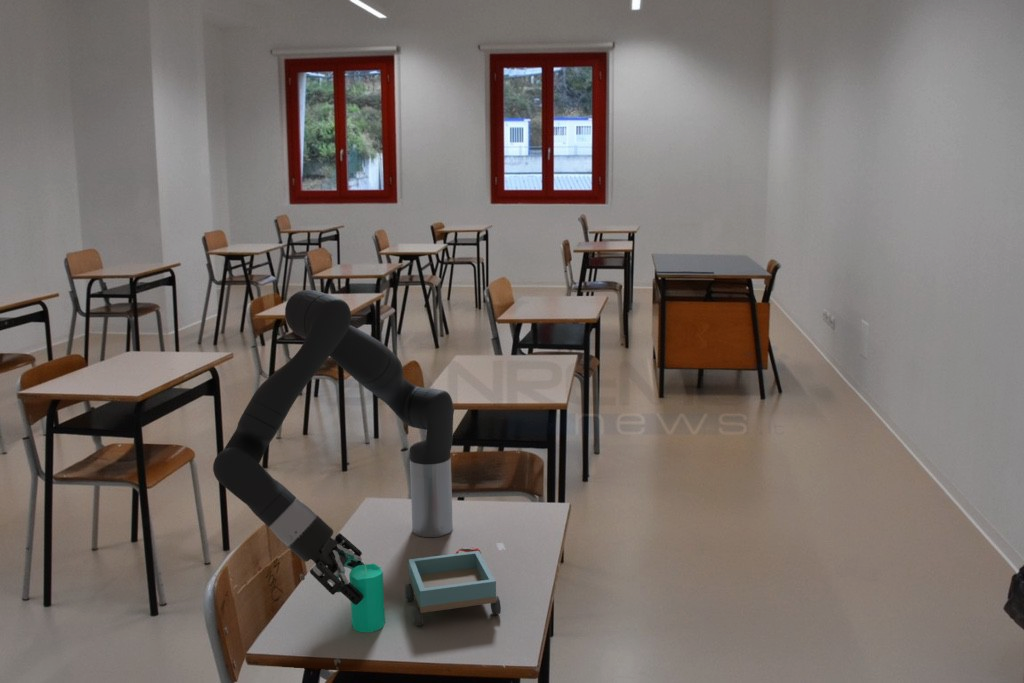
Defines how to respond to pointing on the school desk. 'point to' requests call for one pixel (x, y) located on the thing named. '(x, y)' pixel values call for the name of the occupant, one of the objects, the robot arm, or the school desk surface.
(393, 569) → the school desk surface
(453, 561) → the cart
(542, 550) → the school desk surface
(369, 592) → the candle
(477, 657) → the school desk surface
